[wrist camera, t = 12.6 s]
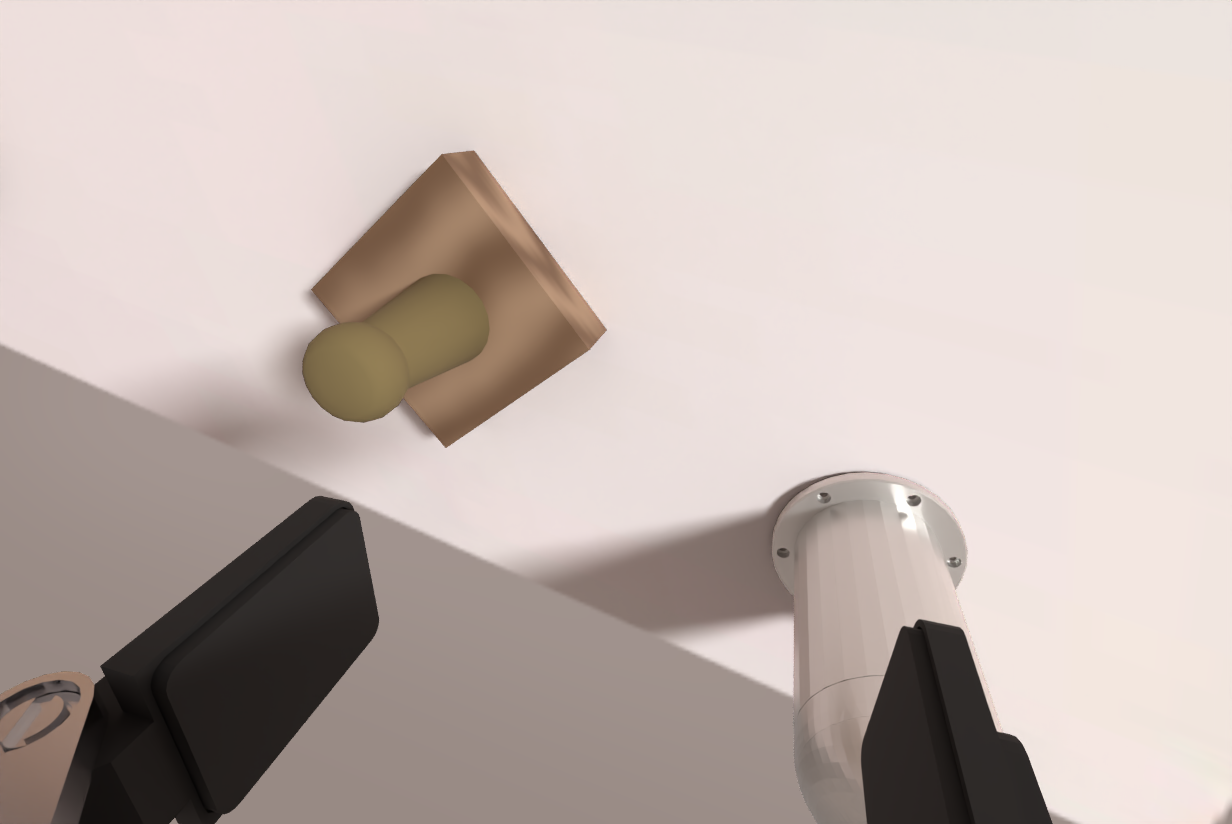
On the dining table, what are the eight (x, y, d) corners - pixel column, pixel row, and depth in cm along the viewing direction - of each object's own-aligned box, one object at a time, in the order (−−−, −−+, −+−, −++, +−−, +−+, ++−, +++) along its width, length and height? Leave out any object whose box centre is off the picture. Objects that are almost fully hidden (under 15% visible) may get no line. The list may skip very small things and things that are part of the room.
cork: (500, 359, 39) (405, 437, 30) (421, 367, 41) (308, 442, 32) (474, 267, 37) (364, 320, 27) (392, 279, 39) (261, 332, 29)
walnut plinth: (606, 330, 41) (589, 349, 37) (471, 423, 47) (445, 448, 44) (474, 150, 38) (441, 154, 35) (348, 275, 44) (311, 289, 41)
